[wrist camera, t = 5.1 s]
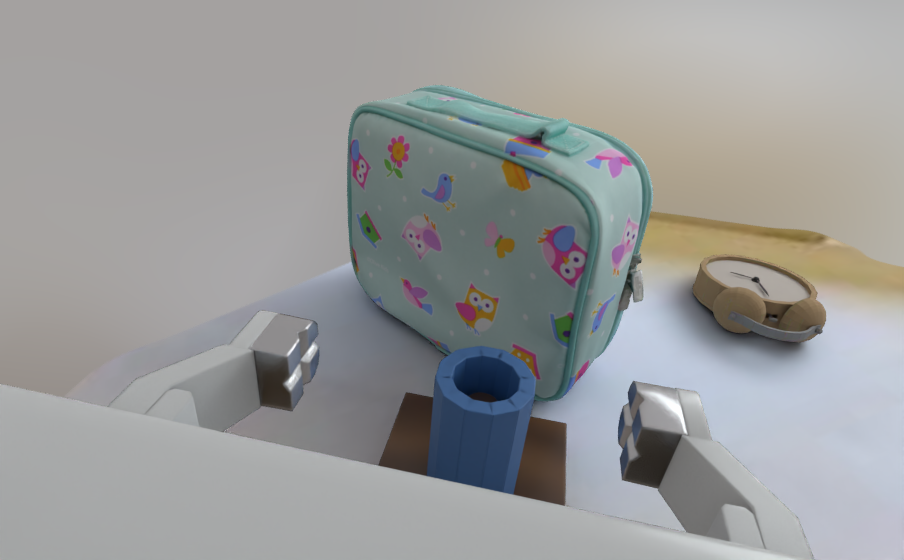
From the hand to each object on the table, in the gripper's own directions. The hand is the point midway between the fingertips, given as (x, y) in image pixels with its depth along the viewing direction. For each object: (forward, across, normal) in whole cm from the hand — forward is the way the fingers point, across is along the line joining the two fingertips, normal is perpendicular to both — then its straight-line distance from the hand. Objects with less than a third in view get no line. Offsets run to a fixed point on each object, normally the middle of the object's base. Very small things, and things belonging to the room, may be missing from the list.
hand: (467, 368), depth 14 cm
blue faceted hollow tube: (+12, 0, +20) cm, 23 cm away
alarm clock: (+42, -26, +22) cm, 54 cm away
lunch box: (+30, +2, +22) cm, 38 cm away
